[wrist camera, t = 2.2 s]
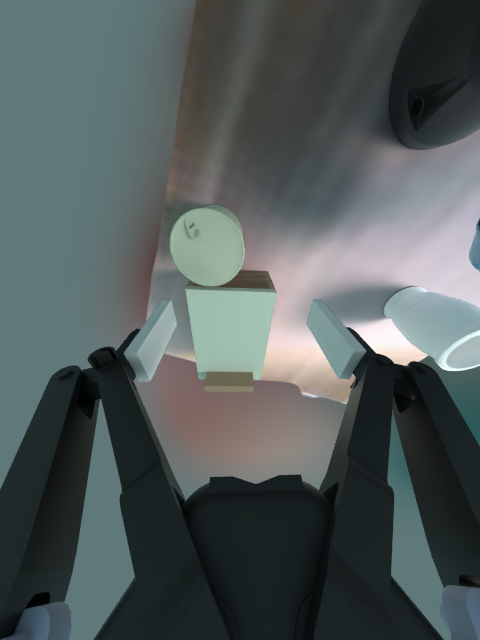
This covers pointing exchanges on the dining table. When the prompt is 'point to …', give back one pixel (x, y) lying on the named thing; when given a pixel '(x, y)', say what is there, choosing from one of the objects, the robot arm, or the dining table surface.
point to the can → (208, 245)
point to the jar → (438, 326)
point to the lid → (230, 334)
